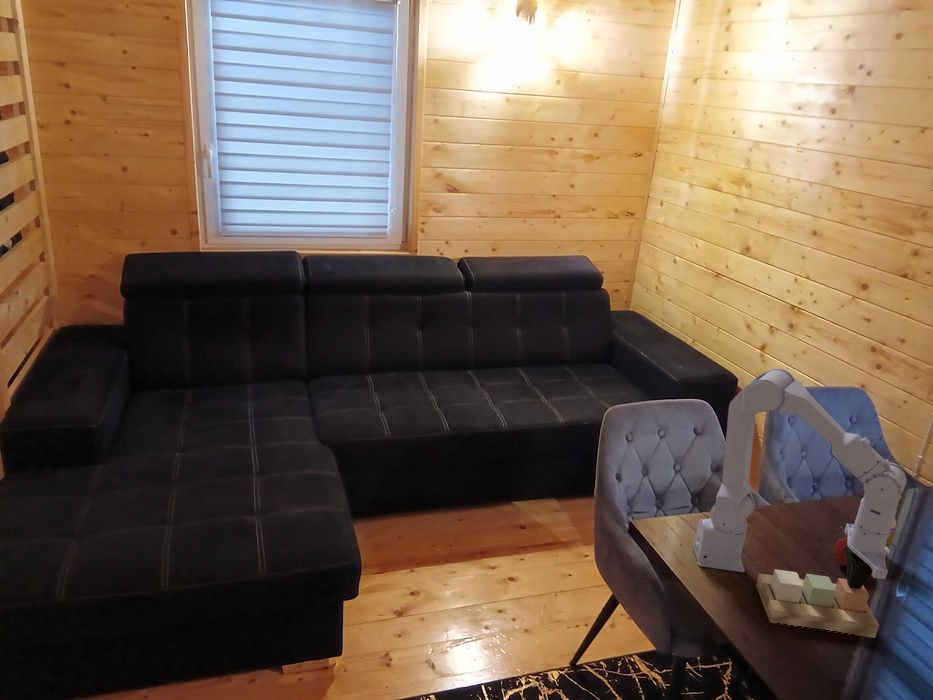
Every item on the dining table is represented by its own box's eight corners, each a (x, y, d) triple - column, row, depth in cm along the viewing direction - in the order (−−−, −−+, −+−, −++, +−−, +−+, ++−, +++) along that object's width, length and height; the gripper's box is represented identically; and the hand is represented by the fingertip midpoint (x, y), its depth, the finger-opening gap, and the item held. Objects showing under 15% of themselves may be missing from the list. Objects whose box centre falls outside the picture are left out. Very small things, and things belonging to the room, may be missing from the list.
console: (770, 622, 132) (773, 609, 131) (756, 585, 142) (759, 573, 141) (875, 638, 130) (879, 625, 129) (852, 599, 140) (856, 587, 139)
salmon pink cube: (840, 609, 133) (846, 592, 132) (833, 594, 137) (838, 578, 135) (863, 612, 132) (869, 595, 131) (855, 597, 136) (860, 581, 135)
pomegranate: (863, 576, 148) (873, 545, 145) (834, 571, 149) (844, 540, 146) (854, 560, 153) (864, 529, 150) (827, 555, 154) (836, 524, 151)
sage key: (808, 604, 134) (813, 587, 132) (801, 590, 137) (806, 573, 136) (831, 607, 133) (836, 590, 132) (823, 593, 137) (828, 576, 136)
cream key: (776, 599, 134) (780, 582, 133) (770, 585, 138) (774, 569, 137) (798, 603, 134) (803, 586, 132) (792, 588, 138) (796, 572, 136)
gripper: (913, 552, 121) (891, 614, 126) (879, 507, 135) (861, 565, 139) (870, 546, 122) (851, 609, 127) (841, 502, 136) (824, 560, 140)
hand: (853, 586), depth 133 cm, fingers closed
